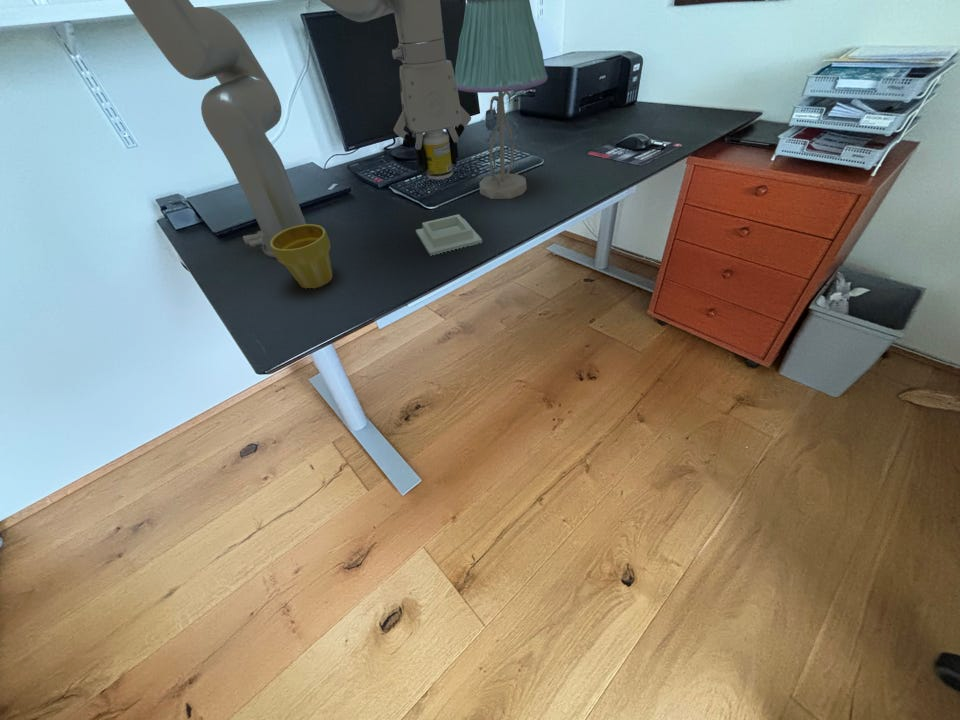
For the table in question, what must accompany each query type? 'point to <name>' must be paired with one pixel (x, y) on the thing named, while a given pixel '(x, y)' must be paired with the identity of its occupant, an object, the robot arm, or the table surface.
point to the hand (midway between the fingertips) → (438, 164)
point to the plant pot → (304, 254)
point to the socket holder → (447, 234)
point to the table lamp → (499, 73)
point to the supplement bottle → (437, 154)
